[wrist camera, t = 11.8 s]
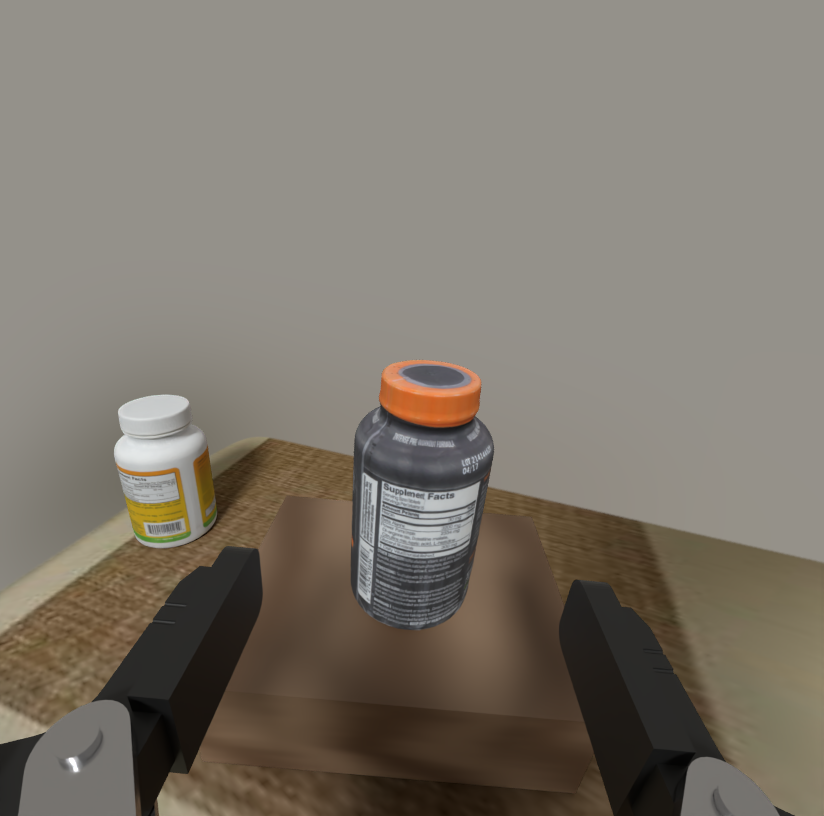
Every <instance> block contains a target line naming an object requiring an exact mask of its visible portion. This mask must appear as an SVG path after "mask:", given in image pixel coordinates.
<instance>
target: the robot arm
mask: <svg viewBox="0 0 824 816" xmlns="http://www.w3.org/2000/svg"><path fill="white" fill-rule="evenodd" d="M262 599H263V587H262V576H261V565H260V555H259V551H258V549H254V548H243V547H232V546H227V547H225V548H224V549H223V550H222V551H221V553H220V554H219V556H218V558H217V559H216V561H215V562H214V564H213V565H212V567H204V566H199V567H198V568H197V569H196V570H194V571H193V572H192V573H191V574H189V575H188V576H187V577H185V578H184V579H183V580H182V581H180V582H179V584H178V585H177V586H176V588H175V589H174V590H173V592H172V593H171V595H170V596H169V597H168V599H167V600H166V602H165V605H164V606H162V607H161V609H160V610H159V611H158V613H157V614H156V616H155V617H154V618H153V622H152V623H150V624H149V625H148V627H147V628H146V630H145V631H144V632H143V634H142V635H141V636H140V638H139V639H138V641H137V642H136V643H135V645H134V646H133V648H132V649H131V650H130V652H129V653H128V655H127V656H126V657H125V659H124V660H123V662H122V663H121V664H120V666H119V667H118V669H117V670H116V671H115V673H114V674H113V676H112V677H111V678H110V680H109V681H108V682H107V684H106V685H105V687H104V688H103V689H102V691H101V692H100V693H99V694H98V696H97V697H96V698H95V699H94V700H93V701H92V702H91V703H88V704H86V705H83V706H81V707H79V708H77V709H75V710H73V711H72V712H70V713H68V714H67V715H65V716H64V717H63V718H61V719H60V720H59V721H57V722H56V723H55V724H54V725H53V726H52V727H51V728H50V729H48V730H47V732H45V733H42V734H39V735H36V736H32V737H28V738H24V739H20V740H16V741H12V742H8V743H4V744H0V816H159V813H158V803H157V797H158V795H159V793H160V791H161V788H162V786H163V784H164V782H165V780H166V778H167V776H168V774H169V772H173V773H183V774H188V773H189V770H190V768H191V766H192V764H193V762H194V759H195V757H196V755H197V753H198V750H199V748H200V746H201V744H202V741H203V739H204V737H205V735H206V732H207V730H208V728H209V726H210V724H211V721H212V719H213V717H214V715H215V712H216V710H217V708H218V706H219V703H220V701H221V699H222V697H223V694H224V692H225V690H226V688H227V686H228V683H229V681H230V679H231V677H232V674H233V672H234V670H235V668H236V665H237V663H238V661H239V659H240V656H241V654H242V652H243V650H244V648H245V645H246V643H247V641H248V639H249V636H250V634H251V632H252V630H253V627H254V625H255V623H256V621H257V618H258V616H259V613H260V609H261V605H262ZM559 640H560V646H561V650H562V653H563V656H564V659H565V662H566V665H567V669H568V672H569V675H570V678H571V681H572V684H573V688H574V691H575V694H576V697H577V700H578V703H579V707H580V710H581V713H582V716H583V719H584V722H585V726H586V729H587V732H588V735H589V738H590V741H591V745H592V748H593V751H594V754H595V757H596V760H597V763H598V767H599V770H600V773H601V776H602V779H603V782H604V786H605V789H606V792H607V795H608V798H609V801H610V805H611V808H612V811H613V814H614V816H794V815H792V814H790V813H788V812H785V811H783V810H781V809H779V808H777V807H775V806H774V805H773V804H772V803H771V801H770V800H769V799H768V797H767V796H766V795H765V794H764V793H763V791H762V790H761V789H760V788H759V787H758V786H757V785H756V784H755V783H754V782H753V781H752V780H751V779H750V778H748V777H747V776H746V775H745V774H744V773H742V772H741V771H740V770H738V769H737V768H735V767H733V766H732V765H730V764H728V763H726V761H725V760H724V758H723V757H722V755H721V754H720V752H719V750H718V749H717V747H716V745H715V743H714V741H713V740H712V738H711V736H710V734H709V732H708V731H707V729H706V727H705V725H704V723H703V722H702V720H701V718H700V716H699V715H698V713H697V711H696V709H695V707H694V706H693V704H692V702H691V700H690V698H689V697H688V695H687V693H686V691H685V689H684V688H683V686H682V684H681V682H680V681H679V679H678V677H677V675H676V674H674V673H673V668H672V666H671V664H670V663H669V661H668V659H667V657H666V655H663V652H662V651H663V650H662V648H661V646H660V645H659V643H658V641H657V639H656V638H655V636H654V634H653V632H652V630H651V629H650V627H649V626H648V625H647V624H646V623H645V622H644V621H643V620H642V619H641V618H640V617H639V616H638V615H637V614H636V613H635V612H634V611H633V609H632V608H628V607H621V605H620V603H619V601H618V599H617V597H616V595H615V594H614V592H613V590H612V588H611V586H610V585H609V584H608V583H605V582H594V581H584V580H575V581H574V582H573V583H572V585H571V588H570V592H569V595H568V598H567V601H566V604H565V607H564V610H563V613H562V616H561V619H560V623H559Z"/></svg>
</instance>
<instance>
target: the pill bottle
mask: <svg viewBox="0 0 824 816" xmlns="http://www.w3.org/2000/svg"><path fill="white" fill-rule="evenodd" d="M480 393H481V380H480V378H479V377H478V375H476V374H475V373H474V372H472V371H470V370H468V369H466V368H464V367H461V366H458V365H454V364H451V363H446V362H439V361H430V360H409V361H402V362H398V363H394V364H391V365H389V366H388V367H386V368H385V369H384V370H383V373H382V380H381V391H380V395H379V401H380V404H381V406H380V407H378V408H376V409H374V410H372V411H371V412H370V413H368V414H367V415H366V416H365V417H364V418H363V420H362V421H361V422H360V424H359V426H358V428H357V430H356V434H355V443H354V444H355V445H354V472H353V500H352V503H353V505H352V539H351V578H350V580H351V587H352V591H353V594H354V597H355V599H356V600H357V602H358V604H359V605H360V607H361V608H362V609H363V610H364V611H365V612H366V613H367V614H368V615H370V616H371V617H372V618H374V619H375V620H377V621H379V622H381V623H383V624H386V625H388V626H391V627H394V628H398V629H404V630H423V629H427V628H431V627H435V626H437V625H439V624H441V623H444V622H445V621H447V620H448V619H450V618H451V617H452V616H453V615H454V614H455V613H456V612H457V611H458V610H459V609H460V607H461V605H462V603H463V601H464V599H465V596H466V593H467V590H468V584H469V579H470V574H471V570H472V567H473V561H474V555H475V551H476V545H477V540H478V536H479V529H480V524H481V519H482V514H483V508H484V503H485V498H486V492H487V487H488V482H489V476H490V471H491V466H492V460H493V454H494V445H493V440H492V437H491V435H490V432H489V431H488V429H487V428H486V426H485V425H484V424H483V423H482V422H481V421H480V420H479V419H478V418H477V417H475V415H476V413H477V412H478V410H479V404H480V402H479V399H480Z"/></svg>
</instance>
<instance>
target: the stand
mask: <svg viewBox="0 0 824 816" xmlns="http://www.w3.org/2000/svg"><path fill="white" fill-rule="evenodd" d="M352 505H353V503H352V501H343V500H331V499H320V498H308V497H297V496H286V498H285V500H284V502H283V503H282V505H281V507H280V509H279V511H278V513H277V515H276V517H275V519H274V520H273V522H272V524H271V526H270V528H269V530H268V532H267V534H266V535H265V537H264V539H263V541H262V543H261V545H260V547H259V549H258V551H259V555H260V565H261V576H262V587H263V599H262V605H261V609H260V613H259V616H258V618H257V621H256V623H255V625H254V627H253V630H252V632H251V634H250V636H249V639H248V641H247V643H246V645H245V648H244V650H243V652H242V654H241V656H240V659H239V661H238V663H237V665H236V668H235V670H234V672H233V674H232V677H231V679H230V681H229V683H228V686H227V688H226V690H225V692H224V694H223V697H222V699H221V701H220V703H219V706H218V708H217V710H216V712H215V715H214V717H213V719H212V721H211V724H210V726H209V728H208V730H207V732H206V735H205V737H204V739H203V741H202V744H201V746H200V748H199V750H200V754H201V759H202V761H204V762H216V763H228V764H239V765H251V766H262V767H274V768H286V769H297V770H309V771H321V772H332V773H344V774H355V775H367V776H379V777H390V778H402V779H413V780H425V781H437V782H448V783H460V784H472V785H483V786H495V787H506V788H518V789H530V790H541V791H553V792H564V793H576V791H577V789H578V787H579V785H580V783H581V780H582V778H583V776H584V774H585V772H586V770H587V768H588V765H589V763H590V761H591V759H592V757H593V755H594V751H593V748H592V745H591V741H590V738H589V735H588V732H587V729H586V726H585V722H584V719H583V716H582V713H581V710H580V707H579V703H578V700H577V697H576V694H575V691H574V688H573V684H572V681H571V678H570V675H569V672H568V669H567V665H566V662H565V659H564V656H563V653H562V650H561V646H560V640H559V623H560V619H561V616H562V613H563V610H564V607H565V606H564V603H563V601H562V598H561V595H560V593H559V590H558V587H557V584H556V582H555V579H554V576H553V574H552V571H551V568H550V565H549V563H548V560H547V557H546V555H545V552H544V549H543V546H542V544H541V541H540V538H539V536H538V533H537V530H536V527H535V525H534V522H533V519H532V517H526V516H514V515H503V514H492V513H483V514H482V519H481V524H480V529H479V536H478V540H477V545H476V551H475V555H474V561H473V567H472V570H471V574H470V579H469V584H468V590H467V593H466V596H465V599H464V601H463V603H462V605H461V607H460V609H459V610H458V611H457V612H456V613H455V614H454V615H453V616H452V617H451V618H450V619H448V620H447V621H445V622H444V623H441V624H439V625H437V626H435V627H431V628H427V629H423V630H404V629H398V628H394V627H391V626H388V625H386V624H383V623H381V622H379V621H377V620H375V619H374V618H372V617H371V616H370V615H368V614H367V613H366V612H365V611H364V610H363V609H362V608H361V607H360V605H359V604H358V602H357V600H356V599H355V597H354V594H353V591H352V587H351V580H350V578H351V539H352Z"/></svg>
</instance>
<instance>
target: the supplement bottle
mask: <svg viewBox="0 0 824 816" xmlns="http://www.w3.org/2000/svg"><path fill="white" fill-rule="evenodd" d="M118 416H119V421H120V427H121V429H122V431H123V433H124V434H125V435H124V436H123V437H121V438H120V439H119V441H118V442H117V443H116V446H115V448H114V456H115V461H116V465H117V469H118V472H119V476H120V480H121V484H122V488H123V491H124V495H125V499H126V503H127V507H128V511H129V515H130V519H131V523H132V527H133V530H134V533H135V536H136V538H137V540H138V541H139V542H140V543H142V544H144V545H146V546H149V547H154V548H171V547H176V546H181V545H184V544H187V543H189V542H192V541H194V540H195V539H197V538H199V537H201V536H202V535H203V534H205V533H206V532H207V531H208V530H209V529H210V528H211V527H212V526H213V524H214V522H215V520H216V517H217V507H216V500H215V493H214V487H213V480H212V473H211V466H210V459H209V452H208V445H207V440H206V436H205V434H204V432H203V431H202V430H201V429H200V428H198V427H197V426H195V425H193V424H191V423H192V413H191V407H190V403H189V401H188V400H187V399H186V398H184V397H181V396H176V395H155V396H148V397H142V398H138V399H135V400H132V401H130V402H128V403H126V404H124V405H123V406H121V407H120V408H119V410H118Z"/></svg>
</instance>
